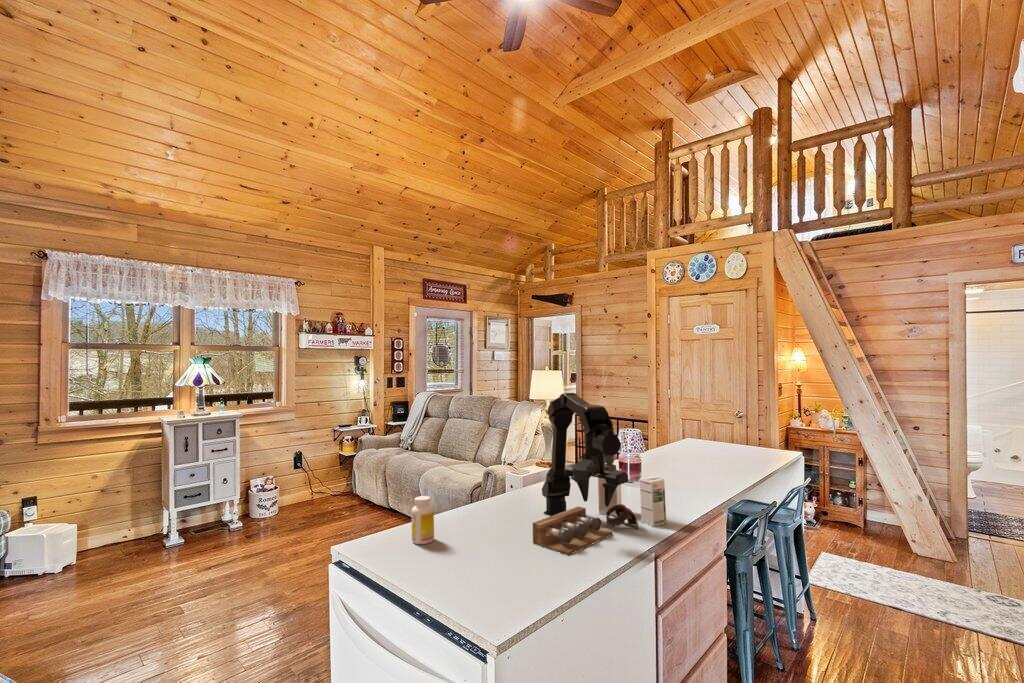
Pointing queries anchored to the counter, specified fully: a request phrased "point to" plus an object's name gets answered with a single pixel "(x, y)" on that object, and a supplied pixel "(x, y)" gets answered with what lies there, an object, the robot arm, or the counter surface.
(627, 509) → the pottery mug
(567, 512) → the panel
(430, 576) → the counter surface
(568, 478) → the robot arm
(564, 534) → the knob near
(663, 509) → the syrup box
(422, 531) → the supplement bottle
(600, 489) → the soap dispenser
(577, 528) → the knob middle
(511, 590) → the counter surface
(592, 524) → the knob far
